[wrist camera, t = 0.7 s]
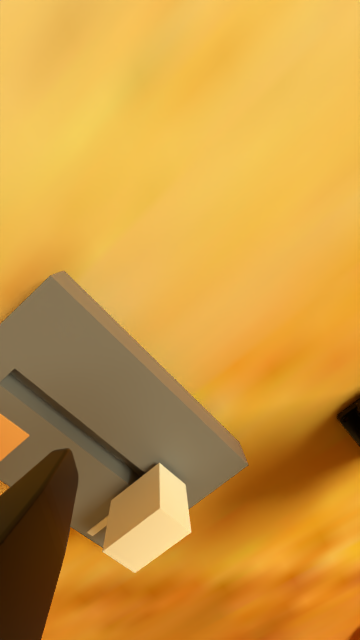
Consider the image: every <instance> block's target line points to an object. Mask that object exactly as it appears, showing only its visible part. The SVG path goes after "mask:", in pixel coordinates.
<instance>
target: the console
mask: <svg viewBox="0 0 360 640" xmlns="http://www.w3.org/2000/svg"><path fill="white" fill-rule="evenodd" d="M64 448H69V449H71V451H72V453H73V456H74V460H75V463H76V467H77V470H78V475H79V482H78V488H77V493H76V499H75V504H74V510H73V515H72V520H71V526H70V527H72V528H73V529H75V530H76V531H78V532H79V533H81V534H82V535H84V536H86V537H87V538H89V539H90V540H92V541H93V542H95V543H96V544H98V545H99V546H101V547H102V548H103V545H104V539H105V533H106V528H107V522H108V516H109V510H110V504H111V500H112V499H114V498H115V497H116V496H117V495H119V494H120V493H121V492H123V491H124V490H125V489H126V488H128V487H129V486H130V485H131V484H133V483H134V482H135V481H137V480H138V479H139V478H140V477H142V475H143V474H146V473H147V472H148V471H149V470H151V469H152V468H153V467H154V466H156V465H157V464H158V463H160V464H162V465H163V466H164V467H165V468H166V469H168V470H169V471H170V472H171V473H172V474H174V475H175V476H176V477H177V478H178V479H180V480H181V481H182V482H183V483H184V484H186V492H187V501H188V509H190V508H191V507H192V506H194V505H195V504H196V503H198V502H199V501H201V500H202V499H203V498H205V497H206V496H207V495H209V494H210V493H211V492H213V491H214V490H215V489H217V488H218V487H219V486H221V485H222V484H223V483H225V482H226V481H228V480H229V479H230V478H232V477H233V476H234V475H236V474H237V473H238V472H240V471H241V470H242V469H244V468H245V467H246V466H248V462H247V460H246V458H245V455H244V453H243V450H242V448H241V445H240V443H239V442H238V441H237V440H236V439H235V438H234V437H233V436H232V435H231V434H230V433H229V432H228V431H227V430H226V429H225V428H224V427H223V426H222V425H221V424H220V423H219V422H218V421H217V420H216V419H215V418H214V417H213V416H212V415H211V414H210V413H209V412H208V411H207V410H206V409H205V408H204V407H203V406H202V405H201V404H200V403H199V402H198V401H197V400H196V399H195V398H193V397H192V396H191V395H190V394H189V393H188V392H187V391H186V390H185V389H184V388H183V387H182V386H181V385H180V384H179V383H178V382H177V381H176V380H175V379H174V378H173V377H172V376H171V375H170V374H169V373H168V372H167V371H166V370H165V369H164V368H163V367H162V366H161V365H160V364H159V363H158V362H157V361H156V360H155V359H154V358H153V357H152V356H151V355H150V354H149V353H148V352H147V351H145V350H144V349H143V348H142V347H141V346H140V345H139V344H138V343H137V342H136V341H135V340H134V339H133V338H132V337H131V336H130V335H129V334H128V333H127V332H126V331H125V330H124V329H123V328H122V327H121V326H120V325H119V324H118V323H117V322H116V321H115V320H114V319H113V318H112V317H111V316H110V315H109V314H108V313H107V312H106V311H105V310H104V309H103V308H102V307H101V306H100V305H99V304H97V303H96V302H95V301H94V300H93V299H92V298H91V297H90V296H89V295H88V294H87V293H86V292H85V291H84V290H83V289H82V288H81V287H80V286H79V285H78V284H77V283H76V282H75V281H74V280H73V279H72V278H71V277H70V276H69V275H68V274H67V273H66V272H65V271H62V272H59V273H56V274H53V275H50V276H49V277H48V278H47V279H46V280H45V281H44V282H43V283H42V284H41V285H40V286H39V287H38V288H37V289H36V290H35V291H34V292H33V293H32V294H31V295H30V296H29V297H28V298H27V299H26V300H25V301H24V302H23V303H22V304H21V305H20V306H18V307H17V308H16V309H15V310H14V311H13V312H12V313H11V314H10V315H9V316H8V317H7V318H6V319H5V320H4V321H3V322H2V323H1V324H0V480H1V481H2V482H4V483H5V484H7V485H8V486H10V487H11V486H12V485H13V484H15V483H16V482H17V481H18V480H19V479H20V478H21V477H23V476H24V475H25V474H26V473H27V472H28V471H30V470H31V469H32V468H33V467H34V466H35V465H36V464H38V463H39V462H40V461H41V460H42V459H43V458H45V457H46V456H47V455H48V454H49V453H50V452H52V451H53V450H57V449H64Z"/></svg>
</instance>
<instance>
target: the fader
mask: <svg viewBox="0 0 360 640" xmlns="http://www.w3.org/2000/svg"><path fill="white" fill-rule="evenodd" d="M190 533H191V526H190V517H189V509H188V501H187V492H186V484H184V483H183V482H182V481H181V480H180V479H178V478H177V477H176V476H175V475H174V474H172V473H171V472H170V471H169V470H168V469H166V468H165V467H164V466H163V465H162V464H160V463H158V464H157V465H156V466H154V467H153V468H152V469H151V470H149V471H148V472H147V473H146V474H143V475H142V477H140V478H139V479H138V480H137V481H135V482H134V483H133V484H131V485H130V486H129V487H128V488H126V489H125V490H124V491H123V492H121V493H120V494H119V495H117V496H116V497H115V498H114V499H112V500H111V504H110V510H109V516H108V522H107V528H106V533H105V539H104V545H103V551H102V552H104V553H105V554H107V555H108V556H110V557H111V558H113V559H114V560H116V561H117V562H119V563H120V564H122V565H123V566H125V567H126V568H128V569H130V570H131V571H133V572H134V573H136V572H137V571H139V570H140V569H141V568H143V567H144V566H145V565H147V564H148V563H150V562H151V561H152V560H154V559H155V558H157V557H158V556H159V555H161V554H162V553H163V552H165V551H166V550H168V549H169V548H170V547H172V546H173V545H174V544H176V543H177V542H179V541H180V540H181V539H183V538H184V537H186V536H187V535H188V534H190Z"/></svg>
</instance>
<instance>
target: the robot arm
mask: <svg viewBox="0 0 360 640" xmlns="http://www.w3.org/2000/svg"><path fill="white" fill-rule="evenodd" d="M337 419H338V421H339V422H340V423H341V424H342V426H343V427H344V428H345V429H346V431H347V432H348V433H349V434H350V435H351V437H352V438H353V439H354V440H355V441H356V443H357V444H358V445H359V446H360V399H359V400H357V401H356V402H355V403H353V404H352V405H350V406H349V407H348V408H346V409H345V410H344V411H342V412H341V413H340V414H339V415H338V416H337ZM78 482H79V475H78V470H77V467H76V463H75V460H74V456H73V453H72V451H71V449H69V448H64V449H57V450H53V451H52V452H50V453H49V454H48V455H47V456H46V457H45V458H43V459H42V460H41V461H40V462H39V463H38V464H36V465H35V466H34V467H33V468H32V469H31V470H30V471H28V472H27V473H26V474H25V475H24V476H23V477H21V478H20V479H19V480H18V481H17V482H16V483H15V484H13V485H12V486H11V487H10V488H9V489H8V490H6V491H5V492H4V493H3V494H2V495H1V496H0V640H41V638H42V634H43V631H44V627H45V624H46V620H47V616H48V613H49V609H50V606H51V602H52V599H53V595H54V592H55V588H56V585H57V581H58V577H59V574H60V570H61V567H62V563H63V559H64V555H65V551H66V547H67V542H68V537H69V531H70V526H71V520H72V515H73V510H74V504H75V499H76V493H77V488H78Z"/></svg>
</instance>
